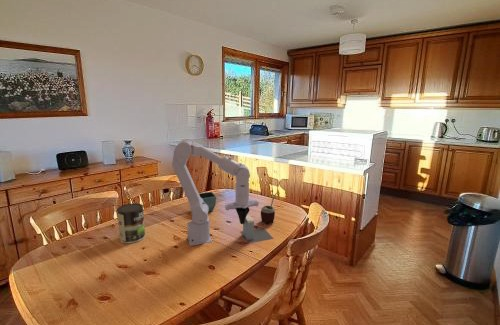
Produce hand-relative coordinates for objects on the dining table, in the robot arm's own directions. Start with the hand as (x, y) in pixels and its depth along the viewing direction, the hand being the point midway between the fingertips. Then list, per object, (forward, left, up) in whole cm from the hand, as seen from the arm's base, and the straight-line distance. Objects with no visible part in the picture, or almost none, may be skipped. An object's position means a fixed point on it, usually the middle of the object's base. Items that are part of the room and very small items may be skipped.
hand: (242, 223), depth 113 cm
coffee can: (-45, +17, -8) cm, 49 cm away
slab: (+3, 0, -7) cm, 8 cm away
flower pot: (-8, +36, -8) cm, 38 cm away
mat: (+7, 0, -7) cm, 10 cm away
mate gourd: (+18, +11, -8) cm, 23 cm away
